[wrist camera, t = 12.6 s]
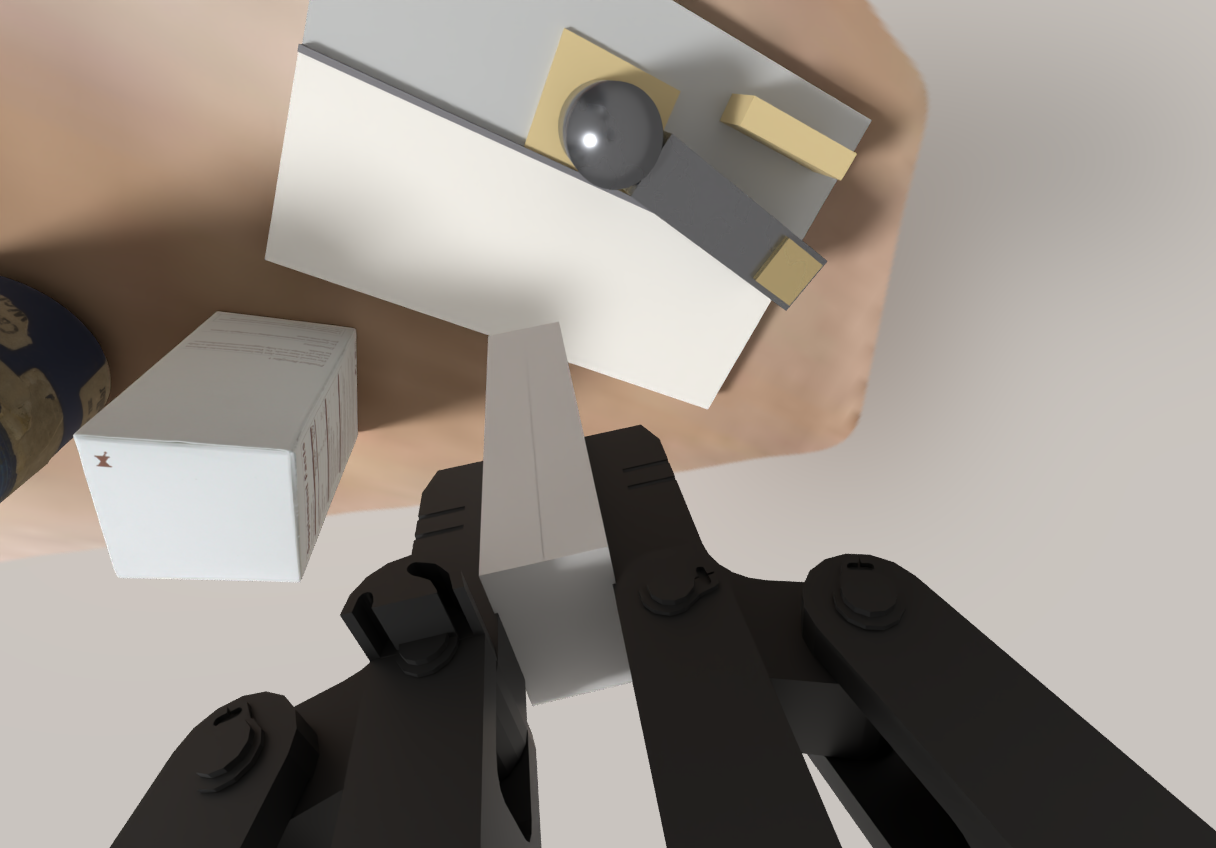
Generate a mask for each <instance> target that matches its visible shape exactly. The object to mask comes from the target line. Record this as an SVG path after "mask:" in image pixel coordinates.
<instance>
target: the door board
mask: <svg viewBox="0 0 1216 848" xmlns="http://www.w3.org/2000/svg"><path fill="white" fill-rule="evenodd" d="M592 80H612V81H622V82H627V83H630V84H633V85H635V86H637V87H639V88H640V89H642V90H643V91H644V92H645V93H646V94H647V95H648V96H649V97H650V98H651V99H652V100H653V102H654V103H655V105H656V107H657V109H658V111H659V113H660V116H661V120H662V125H663V130H664V131H666V132H669V133H672V134H673V135H674V136H676V137H677V138H678V139H679V140H680V141H682V142H683V143H684V144H685V145H687V146H688V147H689V148H690V149H691V150H693V151H694V152H695V153H696V154H698V155H699V156H700V157H701V158H702V159H704V160H705V161H706V162H707V163H708V164H710V165H711V166H712V167H713V168H715V169H716V170H717V171H718V172H719V173H721V174H722V175H723V176H724V177H726V178H727V179H728V180H729V181H730V182H732V183H733V184H734V185H735V186H736V187H738V188H739V189H740V190H741V191H743V192H744V193H745V194H746V195H747V196H749V197H750V198H751V199H752V200H753V201H755V202H756V203H757V204H758V205H760V206H761V207H762V208H763V209H764V210H766V211H767V212H768V213H769V214H771V215H772V216H773V217H774V218H775V219H777V220H778V221H779V222H780V223H781V224H783V225H784V226H785V227H786V228H788V229H789V230H790V231H791V232H792V233H794V234H795V235H796V236H797V237H798V238H800V239H801V240H803V238H804V236H805V235H806V233H807V231H808V229H809V228H810V226H811V224H812V222H813V221H814V219H815V217H816V216H817V214H818V212H819V210H820V209H821V207H822V205H823V204H824V202H825V200H826V198H827V197H828V195H829V193H830V191H831V190H832V188H833V186H834V185H835V183H836V181H837V179H838V180H842V179H843V177H844V175H845V173H846V172H847V170H848V168H849V167H850V165H851V163H852V161H853V160H854V158H855V156H856V153H855V152H854V150H855V148H856V147H857V145H858V143H859V141H860V140H861V138H862V136H863V134H864V133H865V131H866V129H867V128H868V126H869V124H870V122H871V121H872V120H870V119H869V118H867V117H865V116H864V115H862V114H860V113H859V112H857V111H855V110H854V109H852V108H850V107H849V106H847V105H845V104H844V103H842V102H840V101H839V100H837V99H835V98H834V97H832V96H830V95H829V94H827V93H825V92H824V91H822V90H820V89H819V88H817V87H815V86H814V85H812V84H810V83H809V82H807V81H805V80H804V79H802V78H800V77H799V76H797V75H796V74H794V73H792V72H791V71H789V70H787V69H786V68H784V67H782V66H781V65H779V64H777V63H776V62H774V61H772V60H771V59H769V58H767V57H766V56H764V55H762V54H761V53H759V52H757V51H756V50H754V49H752V48H751V47H749V46H747V45H746V44H744V43H742V42H741V41H739V40H737V39H736V38H734V37H732V36H731V35H729V34H727V33H726V32H724V31H722V30H721V29H719V28H718V27H716V26H714V25H713V24H711V23H709V22H708V21H706V20H704V19H703V18H701V17H699V16H698V15H696V14H694V13H693V12H691V11H689V10H688V9H686V8H684V7H683V6H681V5H679V4H678V3H676V2H674V1H673V0H309V6H308V13H307V19H306V25H305V31H304V37H303V43H302V44H299V46H298V56H297V63H296V69H295V75H294V81H293V87H292V94H291V100H290V106H289V112H288V118H287V124H286V131H285V137H284V143H283V149H282V155H281V162H280V168H279V174H278V180H277V186H276V193H275V199H274V205H273V211H272V217H271V224H270V230H269V236H268V242H267V248H266V255H265V260H267V261H270V262H273V263H276V264H279V265H282V266H285V267H288V268H291V269H294V270H296V271H299V272H302V273H305V274H308V275H311V276H314V277H317V278H320V279H323V280H326V281H329V282H332V283H335V284H338V285H341V286H344V287H347V288H350V289H353V290H356V291H359V292H362V293H365V294H368V295H371V296H374V297H376V298H379V299H382V300H385V301H388V302H391V303H394V304H397V305H400V306H403V307H406V308H409V309H412V310H415V311H418V312H421V313H424V314H427V315H430V316H433V317H436V318H439V319H442V320H445V321H448V322H451V323H454V324H456V325H459V326H462V327H465V328H468V329H471V330H474V331H477V332H480V333H483V334H486V335H489V336H491V335H496V334H501V333H506V332H510V331H515V330H520V329H525V328H530V327H535V326H539V325H544V324H549V323H554V322H559V324H560V329H561V333H562V338H563V342H564V347H565V352H566V356H567V361H568V362H569V363H572V364H575V365H578V366H581V367H584V368H587V369H590V370H593V371H596V372H599V373H602V374H605V375H608V376H611V377H614V378H616V379H619V380H622V381H625V382H628V383H631V384H634V385H637V386H640V387H643V388H646V389H649V390H652V391H655V392H658V393H661V394H664V395H667V396H670V397H673V398H676V399H679V400H682V401H685V402H688V403H691V404H694V405H696V406H699V407H702V408H705V409H708V408H709V406H710V405H711V403H712V401H713V400H714V398H715V396H716V394H717V393H718V391H719V389H720V388H721V386H722V384H723V382H724V381H725V379H726V377H727V376H728V374H729V372H730V370H731V369H732V367H733V365H734V364H735V362H736V360H737V358H738V357H739V355H740V353H741V352H742V350H743V348H744V346H745V345H746V343H747V341H748V340H749V338H750V336H751V334H752V333H753V331H754V329H755V328H756V326H757V324H758V322H759V321H760V319H761V317H762V316H763V314H764V312H765V310H766V309H767V307H768V305H769V303H770V302H771V299H769V298H768V297H767V296H765V295H764V294H763V293H761V292H760V291H759V290H757V289H756V288H754V287H753V286H752V285H750V284H749V283H748V282H746V281H745V280H744V279H742V278H741V277H740V276H738V275H737V274H735V273H734V272H733V271H731V270H730V269H729V268H727V267H726V266H725V265H723V264H722V263H721V262H719V261H718V260H716V259H715V258H714V257H712V256H711V255H710V254H708V253H707V252H706V251H704V250H703V249H702V248H700V247H699V246H697V245H696V244H695V243H693V242H692V241H691V240H689V239H688V238H687V237H685V236H684V235H682V234H681V233H680V232H678V231H677V230H676V229H674V228H673V227H672V226H670V225H669V224H668V223H666V222H665V221H663V220H662V219H661V218H659V217H658V216H657V215H655V214H654V213H653V212H651V211H650V210H649V209H647V208H646V207H644V206H643V205H642V204H640V203H639V202H638V201H636V200H635V199H634V198H632V197H631V196H630V195H629V194H628V193H627V192H626V191H625V190H624V189H619V190H609V189H604V188H600V187H598V186H596V185H593V184H592V183H590V182H589V181H587V180H586V179H585V178H584V177H583V176H582V175H581V174H580V173H579V172H578V170H577V169H576V168H575V166H574V165H573V163H572V162H571V161H570V159H569V158H568V157H567V155H566V154H565V152H564V150H563V148H562V145H561V143H560V139H559V133H558V120H559V115H560V111H561V108H562V106H563V104H564V102H565V100H566V98H567V97H568V96H569V94H570V93H571V92H572V91H573V90H574V89H575V88H577V87H578V86H580V85H581V84H583V83H585V82H588V81H592Z"/></svg>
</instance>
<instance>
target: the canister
mask: <svg viewBox="0 0 1216 848" xmlns="http://www.w3.org/2000/svg"><path fill="white" fill-rule="evenodd" d="M110 390H111V376H110V370H109V366H108V362H107V359H106V357H105V355H104V353H103V351H102V348H101V346H100V345H99V343H98V342H97V340H96V339H95V337H94V336H93V335H92V333H91V332H90V331H89V330H88V329H87V327H86V326H85V325H84V324H83V323H82V322H81V321H80V320H79V319H78V318H77V317H75V316H74V315H73V314H72V313H71V312H70V311H68V310H67V309H66V308H64V307H63V306H62V305H60V304H59V303H57V302H56V301H55V300H53V299H52V298H50V297H48V296H46V295H45V294H43V293H41V292H39V291H37V290H35V289H33V288H31V287H29V286H27V285H25V284H22V283H20V282H17V281H14V280H12V279H9V278H6V277H3V276H0V503H1V502H2V501H3V500H4V499H6V498H7V497H8V496H9V495H10V494H12V493H13V492H14V491H15V490H16V489H17V488H19V487H20V486H21V485H22V484H23V483H25V482H26V481H27V480H28V479H29V478H31V477H32V476H33V475H34V474H35V473H37V472H38V471H39V470H40V469H42V468H43V467H44V466H45V465H46V464H47V463H48V462H49V460H50V459H51V458H52V457H53V456H54V455H55V454H56V453H57V452H58V451H59V450H60V449H61V448H62V447H63V446H64V445H65V444H66V443H67V442H69V441H70V440H71V439H72V438H73V435H74V433H75V432H77V431H78V430H79V429H80V428H81V427H82V426H83V425H85V424H86V423H87V422H88V421H89V420H90V419H92V418H93V417H94V416H95V415H96V414H97V413H99V412H100V411H101V410H102V409H103V408H104V406H105V404H106V402H107V400H108V397H109V393H110Z"/></svg>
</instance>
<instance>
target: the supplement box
mask: <svg viewBox="0 0 1216 848" xmlns="http://www.w3.org/2000/svg"><path fill="white" fill-rule="evenodd" d="M357 436H358V416H357V350H356V329H355V328H350V327H342V326H335V325H327V324H319V323H311V322H302V321H294V320H286V319H278V318H270V317H261V316H253V315H245V314H236V313H228V312H221V311H216V312H215V313H214V314H213V315H212V316H211V317H210V318H208V319H207V320H206V321H205V322H204V323H202V324H201V325H200V326H199V327H198V328H197V329H196V330H194V331H193V332H192V333H191V334H190V335H189V336H187V337H186V338H185V339H184V340H183V341H182V342H180V343H179V344H178V345H177V346H176V347H175V348H173V349H172V350H171V351H170V352H169V353H167V354H166V355H165V356H164V357H163V358H162V359H160V360H159V361H158V362H157V363H156V364H155V365H153V366H152V367H151V368H150V369H149V370H148V371H146V372H145V373H144V374H143V375H142V376H141V377H140V378H138V379H137V380H136V381H135V382H134V383H133V384H131V385H130V386H129V387H128V388H127V389H125V390H124V391H123V392H122V393H121V394H120V395H119V396H118V397H116V398H115V399H114V400H112V401H111V402H110V403H109V404H108V405H107V406H106V407H105V408H103V409H102V410H101V411H100V412H99V413H97V414H96V415H95V416H94V417H93V418H92V419H90V420H89V421H88V422H87V423H86V424H85V425H83V426H82V427H81V428H80V429H79V430H78V431H77V432H75V433H74V435H73V437H74V440H75V443H76V446H77V449H78V452H79V455H80V459H81V463H82V466H83V469H84V473H85V476H86V480H87V483H88V486H89V489H90V493H91V496H92V499H93V503H94V506H95V509H96V512H97V516H98V519H99V522H100V526H101V529H102V532H103V536H104V539H105V542H106V545H107V548H108V552H109V555H110V559H111V562H112V565H113V568H114V571H115V573H116V575H117V577H119V578H154V579H157V578H158V579H197V580H198V579H199V580H239V581H274V582H300V581H301V579H302V577H303V574H304V572H305V569H306V567H307V564H308V561H309V559H310V556H311V554H312V551H313V548H314V546H315V543H316V541H317V538H318V536H319V533H320V530H321V528H322V525H323V523H324V520H325V517H326V515H327V512H328V509H329V506H330V504H331V502H332V499H333V497H334V494H335V491H336V489H337V486H338V484H339V482H340V479H341V477H342V474H343V472H344V469H345V466H346V464H347V461H348V459H349V457H350V454H351V452H352V449H353V447H354V444H355V442H356V439H357Z"/></svg>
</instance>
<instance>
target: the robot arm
mask: <svg viewBox="0 0 1216 848" xmlns="http://www.w3.org/2000/svg"><path fill="white" fill-rule="evenodd" d="M418 517H419V520H418V521H417V527H416V532H415V537H416V540H414V544H413V549H412V555H410V556H407V557H404V558H402V559H399V560H396V561H393V562H390V563H388V564H386V565H385V566H383V567H382V568H380V569H378V570H377V571H375V572H374V573H372V574H371V575H369V576H368V577H366V578H365V580H364V581H363V582H362V583H361V584H360V585H359V586H358V587H357V588H356V589H355V590H354V591H353V592H352V593H351V594H350V596H349V598H348V600H347V602H346V604H345V606H344V608H343V610H342V612H341V614H340V615H341V617H342V619H343V620H344V622H345V623H346V625H347V627H348V628H349V630H350V631H351V633H352V634H353V636H354V637H355V639H356V640H357V642H358V643H359V645H360V646H361V648H362V650H363V651H364V653H365V654H366V656H367V657H368V659H369V660H370V663H369V664H368V665H367V666H366V667H364V668H363V669H362V670H361V671H359V672H357V673H356V674H354V675H353V676H351V677H349V678H348V679H346V680H345V681H343V682H341V683H339V684H337V685H335V686H333V687H331V688H329V689H328V690H325V691H324V692H322V693H320V694H318V695H316V696H314V697H312V698H310V699H308V700H306V701H304V702H302V703H301V704H299V705H297V706H295V707H293V706H292V704H291V703H290V702H289V701H288V700H287V699H286V697H285V696H283V695H279V694H275V693H270V692H261V693H256V694H251V695H246V696H242V697H240V698H238V699H236V700H234V701H232V702H230V703H228V704H226V705H224V706H222V707H220V708H218V709H217V710H216V711H214V712H213V713H212V714H211V715H209V716H208V717H207V718H206V719H204V720H203V721H202V722H201V723H200V724H198V725H197V726H196V727H195V728H193V730H192V731H191V732H190V733H189V734H188V735H187V737H186V738H185V739H184V740H183V742H182V743H181V744H180V745H179V746H178V747H177V749H176V750H175V751H174V752H173V754H172V755H171V757H170V758H169V760H168V761H167V763H166V764H165V766H164V767H163V769H162V770H161V772H160V773H159V775H158V776H157V778H156V779H155V781H154V782H153V784H152V785H151V787H150V788H149V790H148V791H147V793H146V794H145V796H144V797H143V799H142V800H141V802H140V803H139V805H138V806H137V808H136V809H135V811H134V812H133V814H132V815H131V817H130V818H129V820H128V821H127V823H126V824H125V826H124V827H123V828H122V830H121V831H120V833H119V835H118V836H117V838H116V839H115V840H114V842H113V844H112V845H111V847H110V848H541V834H540V815H539V798H538V779H537V761H536V748H535V744H534V740H533V736H532V732H531V730H530V728H529V725H528V723H527V713H526V691H527V694H528V696H529V699H530V701H531V703H532V706H535V705H539V704H543V703H547V702H552V701H556V700H560V699H564V698H568V697H573V696H577V695H581V694H585V693H589V692H593V691H598V690H602V689H606V688H610V687H614V686H619V685H623V684H627V683H631V682H633V687H634V692H635V696H636V701H637V706H638V711H639V716H640V721H641V725H642V730H643V735H644V739H645V745H646V750H647V754H648V759H649V764H650V769H651V773H652V779H653V783H654V788H655V793H656V798H657V803H658V807H659V812H660V817H661V822H662V827H663V832H664V837H665V841H666V846H667V848H842V847H841V844H840V842H839V840H838V837H837V835H836V833H835V830H834V828H833V825H832V823H831V821H830V818H829V816H828V814H827V811H826V809H825V807H824V805H823V802H822V800H821V797H820V795H819V793H818V790H817V788H816V786H815V783H814V781H813V779H812V776H811V774H810V772H809V769H808V767H807V765H806V762H805V760H804V757H803V755H802V753H805V754H808V756H809V757H810V759H811V760H812V762H813V763H814V765H815V766H816V767H817V769H818V770H819V772H820V773H821V774H822V776H823V777H824V779H825V780H826V781H827V783H828V784H829V786H830V787H831V789H832V790H833V791H834V793H835V794H836V796H837V797H838V799H839V800H840V801H841V803H842V804H843V806H844V807H845V809H846V810H847V811H848V813H849V814H850V816H851V817H852V819H853V820H854V821H855V823H856V824H857V825H858V827H859V828H860V830H861V831H862V833H863V834H864V835H865V837H866V838H867V840H868V841H869V843H870V844H871V845H872V847H873V848H1216V831H1215V830H1214V829H1213V828H1211V827H1210V826H1209V825H1208V824H1207V823H1206V822H1204V821H1203V820H1202V819H1201V818H1200V817H1199V816H1197V815H1196V814H1195V813H1194V812H1193V811H1191V810H1190V809H1189V808H1188V807H1187V806H1186V805H1184V804H1183V803H1182V802H1181V801H1180V800H1179V799H1177V798H1176V797H1175V796H1174V795H1172V794H1171V793H1170V792H1169V791H1168V790H1167V789H1166V788H1164V787H1163V786H1162V785H1161V784H1160V783H1159V782H1157V781H1156V780H1155V779H1154V778H1153V777H1151V776H1150V775H1149V774H1148V773H1147V772H1145V771H1144V770H1143V769H1142V768H1141V767H1140V766H1139V765H1137V764H1136V763H1135V762H1134V761H1133V760H1131V759H1130V758H1129V757H1128V756H1127V755H1126V754H1124V753H1123V752H1122V751H1121V750H1120V749H1118V748H1117V747H1116V746H1115V745H1114V744H1113V743H1112V742H1110V741H1109V740H1108V739H1107V738H1106V737H1104V736H1103V735H1102V734H1101V733H1100V732H1098V731H1097V730H1096V729H1095V728H1094V727H1093V726H1091V725H1090V724H1089V723H1088V722H1087V721H1086V720H1084V719H1083V718H1082V717H1081V716H1080V715H1078V714H1077V713H1076V712H1075V711H1074V710H1073V709H1071V708H1070V707H1069V706H1068V705H1067V704H1066V703H1064V702H1063V701H1062V700H1061V699H1060V698H1059V697H1057V696H1056V695H1055V694H1054V693H1053V692H1051V691H1050V690H1049V689H1048V688H1046V687H1045V686H1044V685H1043V684H1042V683H1041V682H1040V681H1039V680H1037V679H1036V678H1035V677H1034V676H1033V675H1031V674H1030V673H1029V672H1028V671H1026V669H1024V668H1023V667H1022V666H1021V665H1020V664H1019V663H1017V662H1016V661H1015V660H1014V659H1013V658H1011V657H1010V656H1009V655H1008V654H1007V653H1006V652H1004V651H1003V650H1002V649H1001V648H1000V647H999V646H997V645H996V644H995V643H994V642H993V641H991V640H990V639H989V638H988V637H987V636H986V635H984V634H983V633H982V632H981V631H980V630H978V629H977V628H976V627H975V626H974V625H973V624H971V623H970V622H969V621H968V620H967V619H966V618H964V617H963V616H962V615H961V614H960V613H959V612H957V611H956V610H955V609H954V608H953V607H951V606H950V605H949V604H948V603H947V602H946V601H944V600H943V599H942V598H941V597H940V596H938V595H937V594H936V593H935V592H934V591H932V590H931V589H930V588H929V587H928V586H927V585H926V584H924V583H923V582H922V581H921V580H920V579H918V578H917V577H916V576H915V575H913V574H912V573H910V572H909V571H907V570H905V569H904V568H902V567H901V566H899V565H897V564H896V563H894V562H891V561H888V560H885V559H882V558H879V557H875V556H872V555H863V554H843V555H839V556H836V557H832V558H828V559H825V560H824V561H822V562H821V563H820V564H818V565H817V566H816V567H815V568H813V569H812V570H810V572H809V574H808V576H807V578H806V580H805V582H790V581H768V580H761V579H753V578H748V577H745V576H742V575H739V574H736V573H733V572H731V571H730V570H728V569H726V568H725V567H723V566H721V565H719V564H718V563H717V562H716V561H715V560H714V559H713V558H712V557H711V556H710V555H709V554H708V552H707V550H706V549H705V547H704V545H703V544H702V541H701V539H700V537H699V534H698V532H697V529H696V527H695V525H694V522H693V520H692V517H691V515H690V512H689V510H688V508H687V505H686V503H685V500H684V498H683V495H682V493H681V490H680V488H679V485H678V483H677V481H676V480H675V476H674V473H673V471H672V468H671V466H670V463H668V459H667V456H666V454H665V451H664V449H663V446H662V444H661V442H660V439H659V438H657V437H656V436H655V435H653V434H652V433H651V432H650V431H648V430H647V429H646V428H644V427H643V426H642V425H637V426H633V427H628V428H623V429H619V430H614V431H609V432H605V433H600V434H596V435H591V436H586V437H584V434H583V429H582V425H581V420H580V416H579V411H578V406H577V402H576V397H575V393H574V388H573V384H572V379H571V374H570V370H569V365H568V361H567V356H566V352H565V347H564V342H563V338H562V333H561V329H560V324H559V322H554V323H549V324H544V325H539V326H535V327H530V328H525V329H520V330H515V331H510V332H506V333H501V334H496V335H491V336H488V355H487V381H486V406H485V432H484V457H483V461H481V462H476V463H471V464H467V465H462V466H458V467H453V468H448V469H444V470H439V471H437V473H436V474H435V476H434V477H433V478H432V480H431V481H430V483H429V484H428V486H427V487H426V488H425V490H424V491H423V493H422V498H421V503H420V509H419V515H418Z"/></svg>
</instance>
